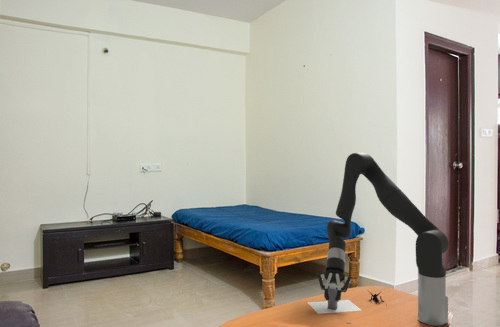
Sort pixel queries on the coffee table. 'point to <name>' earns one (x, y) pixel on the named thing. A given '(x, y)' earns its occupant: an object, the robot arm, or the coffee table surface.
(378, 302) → the creature
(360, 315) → the coffee table surface
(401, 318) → the coffee table surface
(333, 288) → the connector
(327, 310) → the dock plate
